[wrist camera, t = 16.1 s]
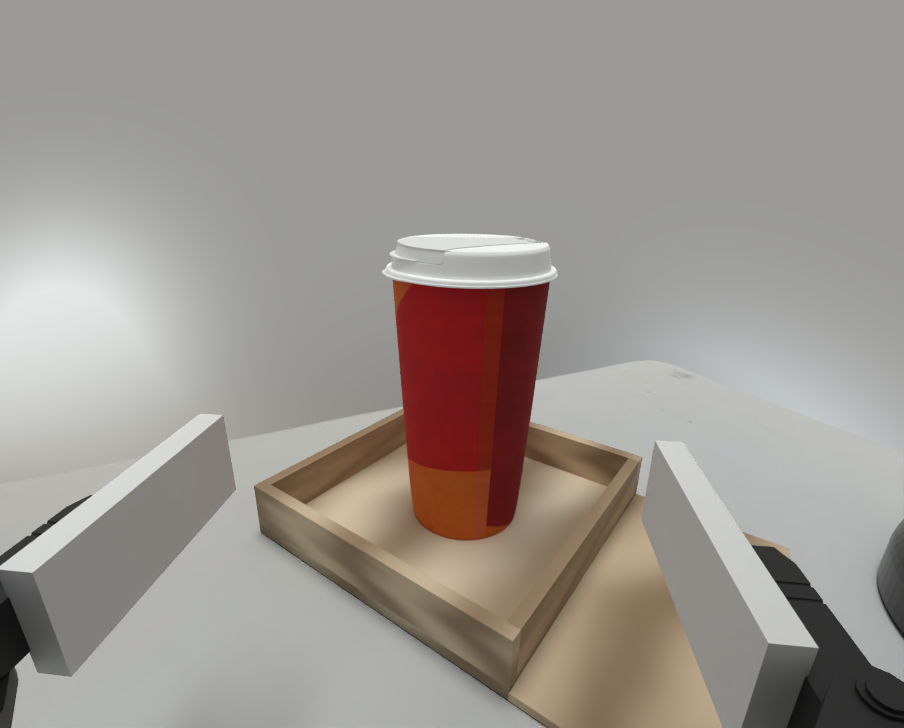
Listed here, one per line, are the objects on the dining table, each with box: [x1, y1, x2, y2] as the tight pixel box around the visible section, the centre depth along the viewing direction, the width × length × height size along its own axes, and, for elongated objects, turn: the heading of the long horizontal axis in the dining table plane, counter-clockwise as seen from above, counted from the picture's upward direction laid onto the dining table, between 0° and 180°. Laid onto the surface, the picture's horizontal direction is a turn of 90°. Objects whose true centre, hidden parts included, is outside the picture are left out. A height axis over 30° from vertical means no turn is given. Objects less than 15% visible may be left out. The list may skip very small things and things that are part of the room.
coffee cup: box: [382, 234, 558, 540], centre depth 26 cm, size 8×8×15 cm
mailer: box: [254, 409, 790, 728], centre depth 26 cm, size 24×16×3 cm, turn 54°
